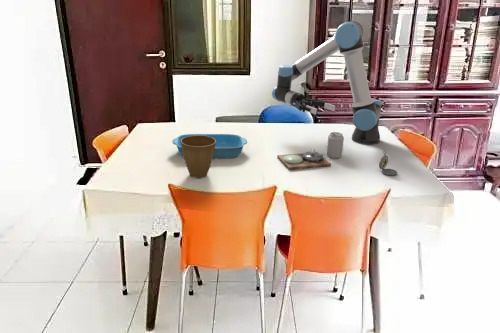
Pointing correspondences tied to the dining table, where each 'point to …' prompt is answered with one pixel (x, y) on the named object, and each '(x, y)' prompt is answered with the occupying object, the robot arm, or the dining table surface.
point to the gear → (312, 156)
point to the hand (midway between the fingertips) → (325, 110)
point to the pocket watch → (384, 162)
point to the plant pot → (198, 154)
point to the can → (335, 145)
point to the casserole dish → (219, 145)
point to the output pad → (292, 159)
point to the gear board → (303, 163)
